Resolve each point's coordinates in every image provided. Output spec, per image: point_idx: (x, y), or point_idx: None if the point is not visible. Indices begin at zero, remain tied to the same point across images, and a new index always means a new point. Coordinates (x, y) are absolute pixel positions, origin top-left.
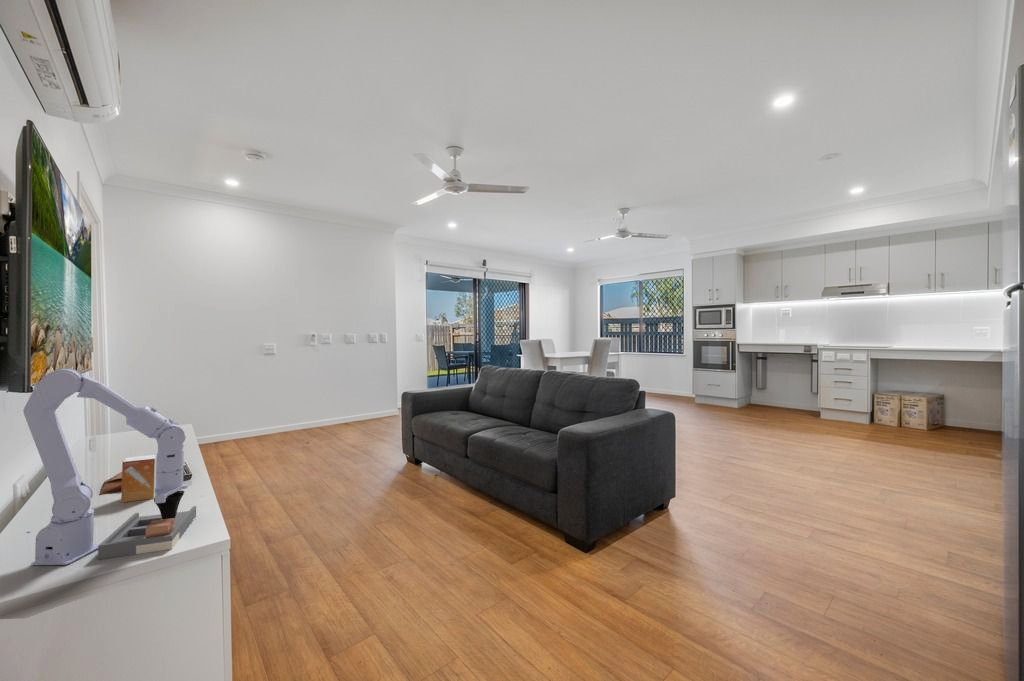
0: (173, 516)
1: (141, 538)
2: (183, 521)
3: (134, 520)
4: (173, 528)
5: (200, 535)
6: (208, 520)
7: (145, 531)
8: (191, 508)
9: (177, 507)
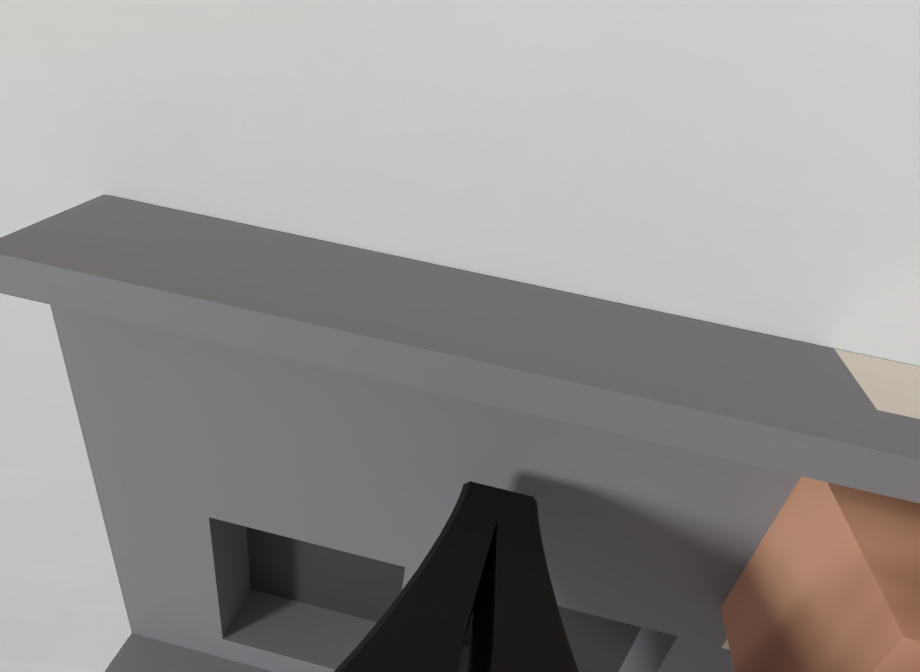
0: (543, 555)
1: None
2: (655, 405)
3: (220, 661)
4: (870, 507)
5: (898, 109)
6: (272, 28)
7: None
8: (76, 307)
9: (430, 614)
